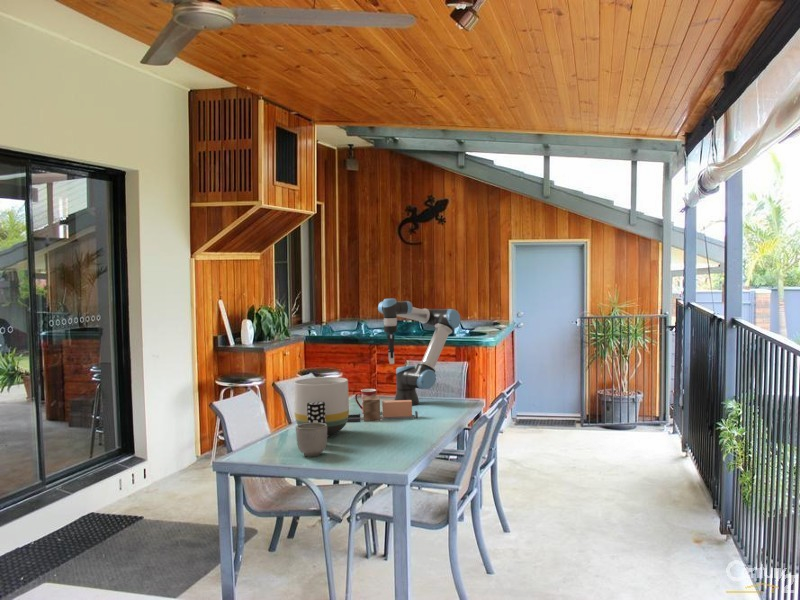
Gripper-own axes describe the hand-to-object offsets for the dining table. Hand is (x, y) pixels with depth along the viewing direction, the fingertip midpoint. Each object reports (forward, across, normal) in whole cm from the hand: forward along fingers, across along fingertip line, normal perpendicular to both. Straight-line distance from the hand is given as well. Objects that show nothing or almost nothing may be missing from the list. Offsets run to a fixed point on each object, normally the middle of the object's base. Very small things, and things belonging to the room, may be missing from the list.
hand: (391, 362), depth 404 cm
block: (+27, +18, +2) cm, 33 cm away
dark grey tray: (+29, +18, -23) cm, 41 cm away
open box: (+29, +18, -12) cm, 36 cm away
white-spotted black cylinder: (+29, +76, -38) cm, 90 cm away
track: (+29, +18, -3) cm, 34 cm away
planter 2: (+29, +92, -39) cm, 104 cm away
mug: (+29, 0, -15) cm, 33 cm away
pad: (+29, +18, +2) cm, 34 cm away
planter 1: (+29, +52, -37) cm, 70 cm away
